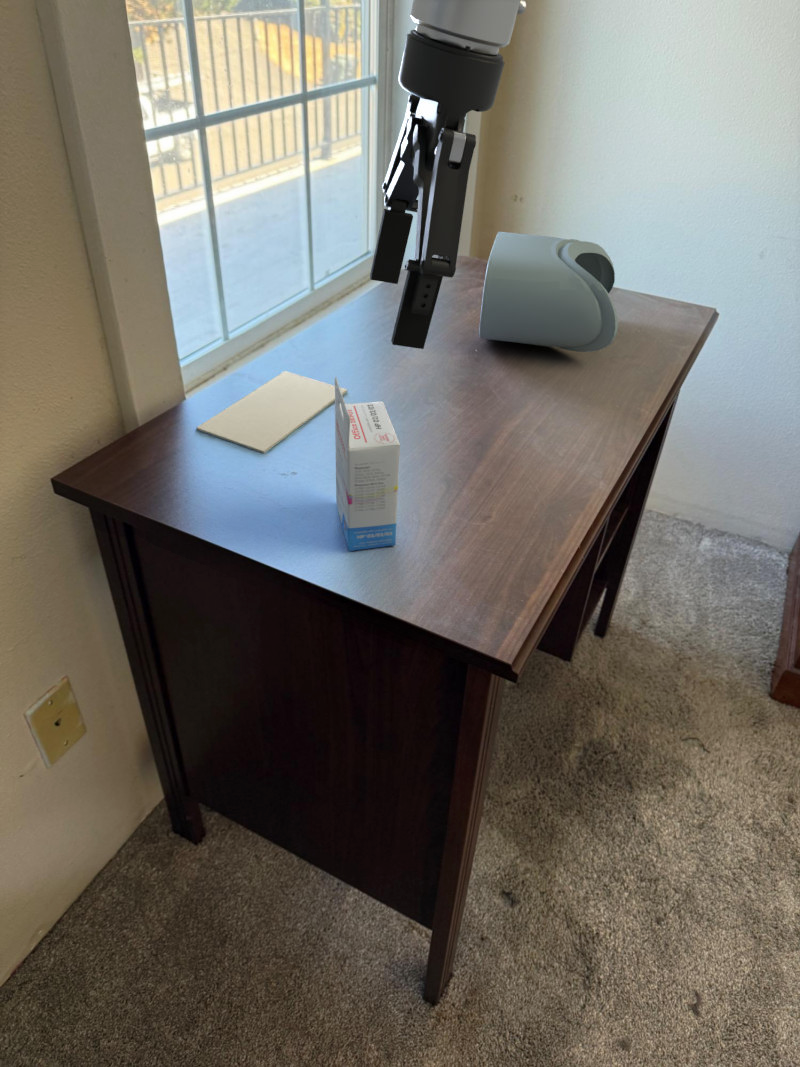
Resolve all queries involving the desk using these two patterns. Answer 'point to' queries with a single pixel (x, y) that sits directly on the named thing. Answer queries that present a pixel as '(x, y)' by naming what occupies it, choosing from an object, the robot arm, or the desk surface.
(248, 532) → the desk surface
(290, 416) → the mat
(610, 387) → the desk surface
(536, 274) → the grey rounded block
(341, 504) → the ink box
